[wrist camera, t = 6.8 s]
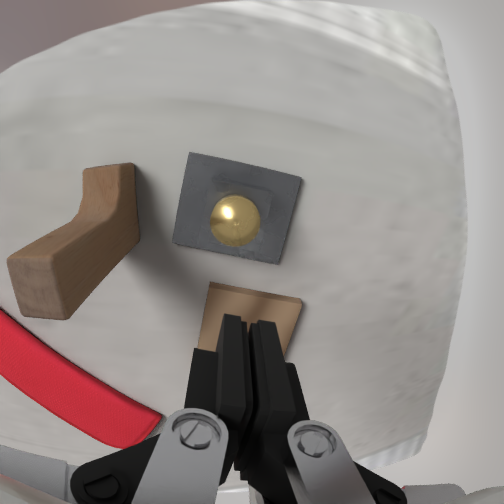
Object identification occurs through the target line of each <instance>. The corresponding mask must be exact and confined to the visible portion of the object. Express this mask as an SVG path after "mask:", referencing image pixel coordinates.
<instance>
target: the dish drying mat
mask: <svg viewBox="0 0 504 504" xmlns="http://www.w3.org/2000/svg"><path fill="white" fill-rule="evenodd" d="M0 375H2V376H3V377H4V378H5V379H6V380H7V381H9V382H10V383H11V384H12V385H14V386H15V387H16V388H18V389H19V390H20V391H22V392H23V393H24V394H26V395H27V396H28V397H30V398H31V399H33V400H34V401H36V402H37V403H38V404H40V405H41V406H43V407H44V408H46V409H47V410H48V411H50V412H51V413H53V414H54V415H56V416H58V417H59V418H61V419H62V420H64V421H66V422H67V423H69V424H70V425H72V426H74V427H76V428H77V429H79V430H81V431H82V432H84V433H86V434H87V435H89V436H91V437H92V438H94V439H96V440H98V441H100V442H102V443H104V444H106V445H109V446H112V447H115V448H120V449H125V448H128V447H130V446H133V445H135V444H137V443H140V442H142V441H143V440H144V439H145V438H146V437H147V436H148V435H149V434H150V433H151V431H152V430H153V429H154V428H155V427H156V425H157V424H158V423H159V421H160V420H161V418H162V415H161V414H159V413H157V412H155V411H153V410H151V409H149V408H147V407H145V406H143V405H142V404H140V403H138V402H136V401H134V400H132V399H130V398H129V397H127V396H125V395H123V394H121V393H120V392H118V391H116V390H114V389H113V388H111V387H109V386H108V385H106V384H104V383H103V382H101V381H99V380H98V379H96V378H94V377H93V376H91V375H89V374H88V373H86V372H85V371H83V370H81V369H80V368H78V367H77V366H75V365H74V364H72V363H71V362H69V361H68V360H66V359H65V358H63V357H62V356H61V355H59V354H58V353H56V352H55V351H53V350H52V349H50V348H49V347H47V346H46V345H45V344H43V343H42V342H41V341H39V340H38V339H37V338H35V337H34V336H33V335H31V334H30V333H29V332H28V331H26V330H25V329H24V328H23V327H21V326H20V325H19V324H18V323H16V322H15V321H14V320H13V319H11V318H10V317H9V316H8V315H6V314H5V313H4V312H3V311H1V310H0Z"/></svg>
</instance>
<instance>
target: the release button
mask: <svg viewBox="0 0 504 504" xmlns="http://www.w3.org/2000/svg"><path fill="white" fill-rule="evenodd" d="M260 222H261V221H260V215H259V212H258V210H257V207H256V206H255V204H254V203H253V202H252V201H251V200H250V199H249V198H247V197H245V196H243V195H238V194H233V195H228V196H225V197H223V198H222V199H220V200H219V201H218V202H217V203H216V205H215V206H214V209H213V211H212V214H211V217H210V227H211V230H212V233H213V235H214V236H215V237H216V239H217V240H218V241H220V242H221V243H223V244H225V245H228V246H233V247H238V246H243V245H246V244H247V243H249V242H251V241H252V240H253V239H254V238H255V237H256V235H257V234H258V232H259V229H260Z"/></svg>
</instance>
